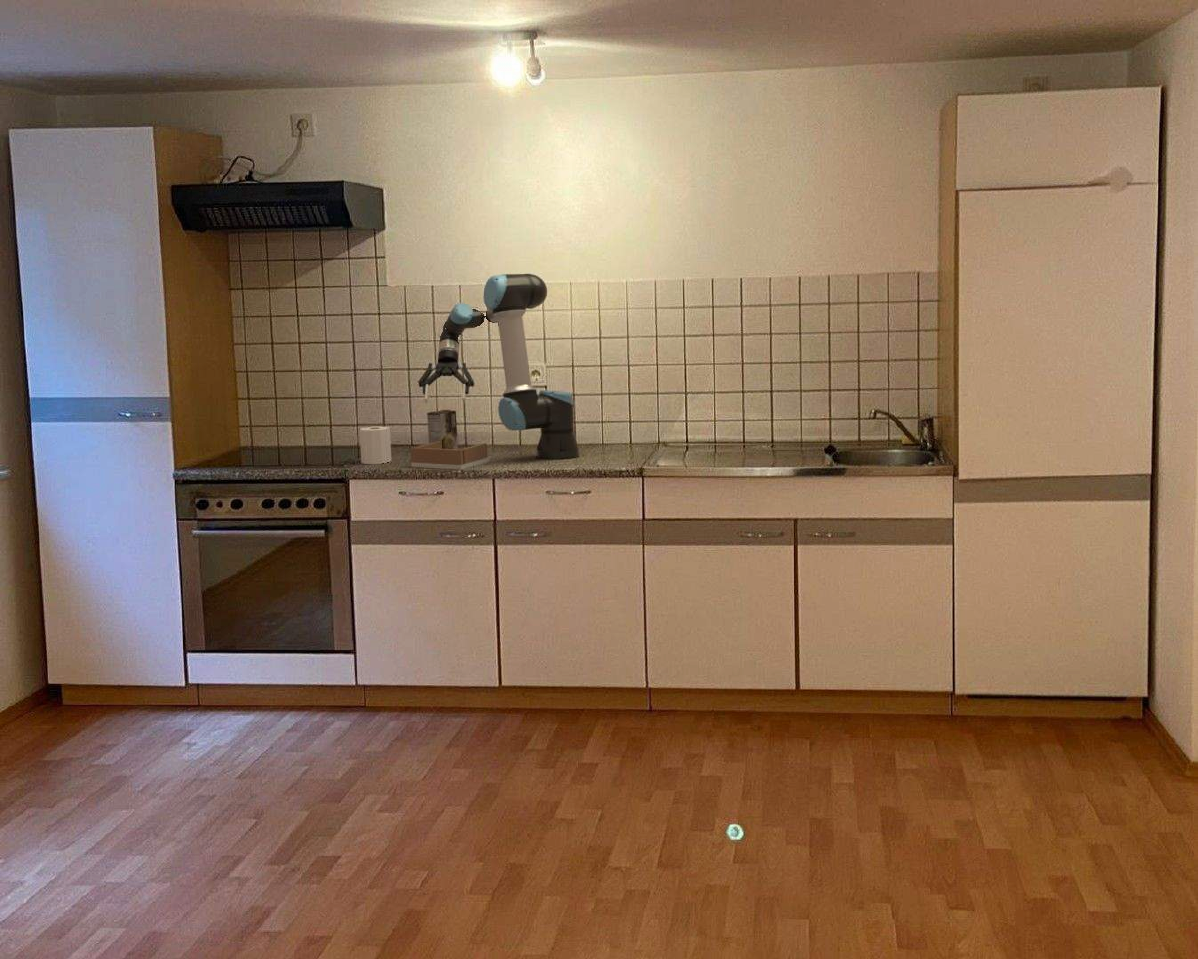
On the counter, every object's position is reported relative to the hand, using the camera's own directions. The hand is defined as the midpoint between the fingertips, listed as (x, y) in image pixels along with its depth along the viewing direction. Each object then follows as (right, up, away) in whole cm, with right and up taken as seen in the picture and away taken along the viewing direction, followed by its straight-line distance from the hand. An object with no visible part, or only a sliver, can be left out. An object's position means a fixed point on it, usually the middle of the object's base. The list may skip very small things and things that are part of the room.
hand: (445, 400), depth 532 cm
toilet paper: (-22, -23, -18) cm, 36 cm away
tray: (+5, -23, -27) cm, 36 cm away
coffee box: (0, -20, -7) cm, 21 cm away
